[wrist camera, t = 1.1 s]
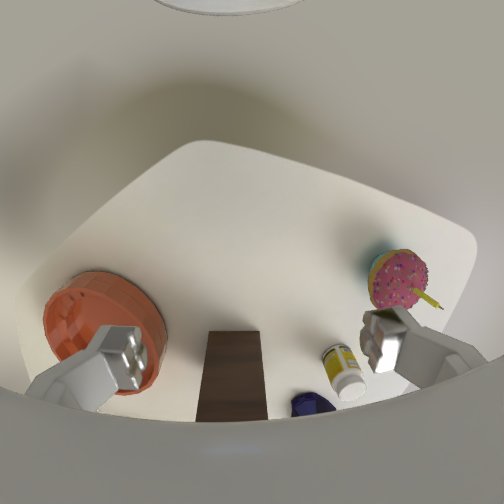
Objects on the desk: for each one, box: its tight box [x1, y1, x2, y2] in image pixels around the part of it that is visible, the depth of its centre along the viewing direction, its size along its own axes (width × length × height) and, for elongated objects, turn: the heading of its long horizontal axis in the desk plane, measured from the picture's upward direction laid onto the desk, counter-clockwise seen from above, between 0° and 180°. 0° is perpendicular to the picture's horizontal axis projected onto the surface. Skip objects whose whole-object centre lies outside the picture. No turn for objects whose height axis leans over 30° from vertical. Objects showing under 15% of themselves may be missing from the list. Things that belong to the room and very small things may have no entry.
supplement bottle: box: [323, 345, 366, 402], centre depth 37 cm, size 5×5×8 cm
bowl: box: [43, 271, 167, 396], centre depth 35 cm, size 18×18×6 cm
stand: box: [195, 331, 268, 422], centre depth 28 cm, size 8×7×26 cm
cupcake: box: [368, 249, 444, 310], centre depth 31 cm, size 9×8×12 cm
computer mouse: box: [291, 393, 336, 417], centre depth 44 cm, size 9×15×4 cm, turn 26°
